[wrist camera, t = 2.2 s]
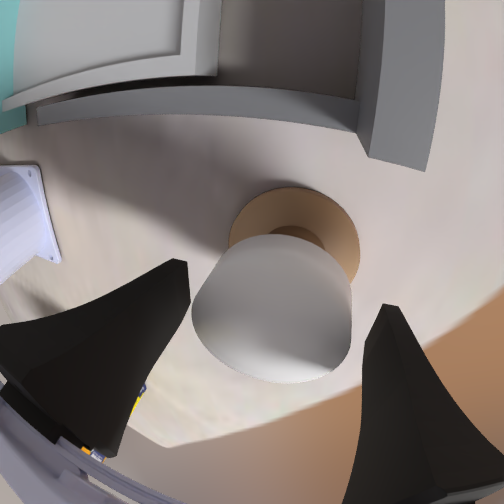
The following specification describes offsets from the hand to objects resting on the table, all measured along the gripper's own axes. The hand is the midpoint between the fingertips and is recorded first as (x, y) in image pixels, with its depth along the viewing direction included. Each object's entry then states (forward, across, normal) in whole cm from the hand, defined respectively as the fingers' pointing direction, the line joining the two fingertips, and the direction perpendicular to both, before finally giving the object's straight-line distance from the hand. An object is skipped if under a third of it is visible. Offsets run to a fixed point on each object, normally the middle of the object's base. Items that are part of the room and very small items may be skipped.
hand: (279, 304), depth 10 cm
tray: (+4, +12, -14) cm, 19 cm away
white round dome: (0, 0, 0) cm, 0 cm away
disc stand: (+4, 0, 0) cm, 4 cm away
